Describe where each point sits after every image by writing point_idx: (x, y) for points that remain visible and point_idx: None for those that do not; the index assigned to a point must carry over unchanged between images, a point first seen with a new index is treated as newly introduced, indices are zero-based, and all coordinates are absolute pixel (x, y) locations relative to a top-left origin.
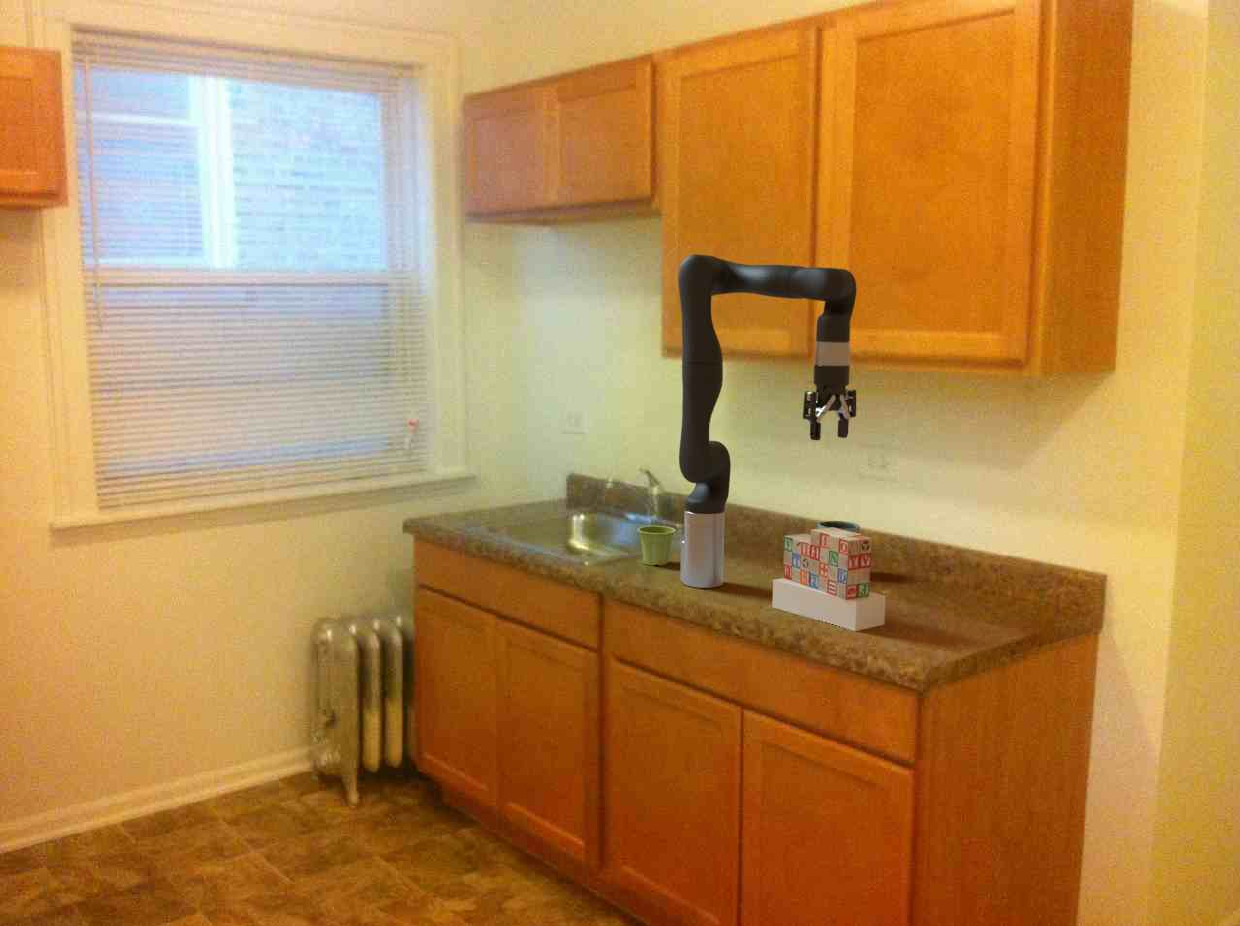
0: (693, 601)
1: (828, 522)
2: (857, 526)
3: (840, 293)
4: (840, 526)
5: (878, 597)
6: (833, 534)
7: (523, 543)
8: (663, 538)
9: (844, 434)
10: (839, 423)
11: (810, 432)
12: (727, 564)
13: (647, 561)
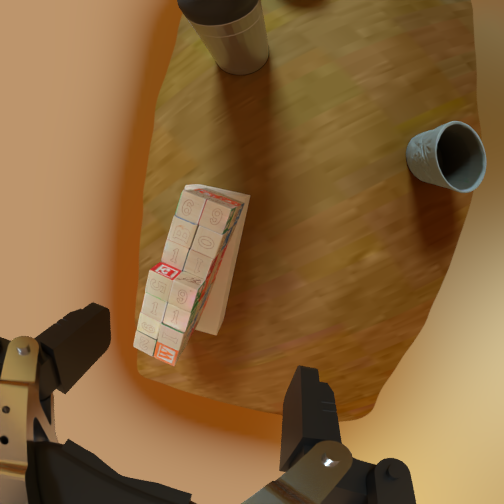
0: (159, 101)
1: (471, 132)
2: (476, 183)
3: None
4: (477, 150)
5: (203, 331)
6: (147, 315)
7: None
8: None
9: (285, 407)
10: (296, 428)
11: (63, 320)
12: (360, 27)
13: None
